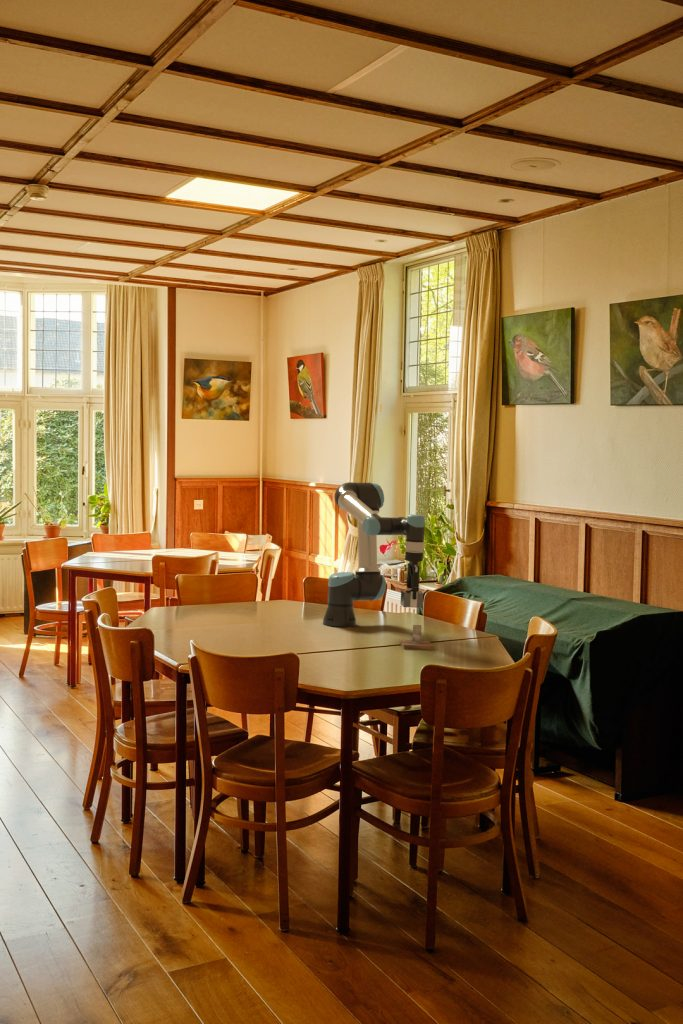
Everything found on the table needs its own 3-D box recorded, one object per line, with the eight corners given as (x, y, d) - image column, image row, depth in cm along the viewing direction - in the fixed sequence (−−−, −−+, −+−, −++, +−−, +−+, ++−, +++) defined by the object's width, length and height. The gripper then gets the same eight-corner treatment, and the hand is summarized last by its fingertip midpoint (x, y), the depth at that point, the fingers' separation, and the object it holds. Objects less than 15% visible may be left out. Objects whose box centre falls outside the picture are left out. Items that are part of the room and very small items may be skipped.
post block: (399, 643, 414) (400, 622, 413) (427, 643, 415) (428, 623, 415) (404, 649, 402) (405, 628, 402) (433, 649, 404) (434, 628, 403)
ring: (400, 604, 425) (401, 590, 425) (418, 604, 426) (419, 590, 426) (403, 607, 417) (404, 592, 417) (422, 607, 418) (423, 593, 418)
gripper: (401, 548, 430) (398, 601, 432) (410, 554, 410) (407, 609, 411) (418, 549, 431) (415, 601, 433) (428, 554, 410) (425, 609, 412)
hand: (411, 605), depth 422 cm, fingers closed on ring, 8 cm apart
